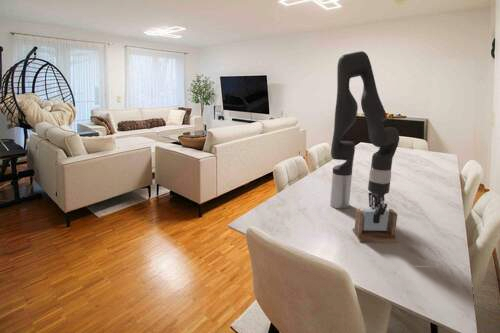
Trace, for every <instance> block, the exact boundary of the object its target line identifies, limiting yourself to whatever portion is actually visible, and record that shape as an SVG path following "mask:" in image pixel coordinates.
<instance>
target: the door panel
mask: <svg viewBox="0 0 500 333" xmlns="http://www.w3.org/2000/svg"><path fill="white" fill-rule="evenodd" d="M362 212H363V214H364V216H363V225H362V229H363V230H373V231H387V223H388V215H389V210H388V209H386V210H385V212H384V214H383V215H380V221H379V223H374V222H373V218H374V209H371V208H364V209H363V210H362Z"/></svg>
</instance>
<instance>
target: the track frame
mask: <svg viewBox="0 0 500 333" xmlns="http://www.w3.org/2000/svg"><path fill="white" fill-rule="evenodd" d="M355 211H356V212H355V223H354V227H353V228H351V229H352V230H351V231H352V232H353V233H354V235H355V236H356V238H357V240H358V242H359V243H381V244H382V243H385V244H386V243H388V244H390V243H391V244H397V243H398V240H397V239H396V228H397V220H398V215H399V214H398V213H397V212H395V211H394V209H392V208H389V209H388V212H389V215H388V223H387V231H373V230H363V229H362V225H363V216H364V214H363V210H362V209H361V208H356V209H355Z"/></svg>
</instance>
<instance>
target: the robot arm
mask: <svg viewBox="0 0 500 333" xmlns="http://www.w3.org/2000/svg"><path fill="white" fill-rule="evenodd" d="M336 67H337V70H336V72H337V74H336V75H337V78H336V80H337V81H336V82H337V83H336V84H337V89H336V90H337V91H336V102H335V108H334V109H335V110H334V111H335V112H334V125H333V126H334V127H333V135H332V141H331V147H330V148H331V149H330V156H331V159H333V160H337V161H344V162H343V163H341V164H338V165H337V164H336V165H334V166H333V168H332V175H331V176H332V178H331V188H330V189H331V191H330V204H329V205H330V206H331V207H333V208H335V209H339V210H343V209H345V210H346V209H348V208H349V207H350V201H351V200H350V199H351V187H352V178H353V168H354V167H353V166H354V159H355V152H356V144H355V142H354V141H351V140H349V141H348V140H341V139H342V138H343V136H344V135H345V133H347V131H349V129H350V128H352V126H353V125H354V124H355V122H356V120H357V116H358V109H359V108H358V107H359V106H358V102H357V100H356V99H355V97H354V95H353V93H352V92H351V89H350V80H351V79H352V78H358V77H360V78H361V80H362V82H363V90H362V95H361V100H360V105H361V110H362V112H363V115H364V117H365V119H366V124H367V131H368V132H367V133H368V138H369V140H370V142H371V144H372V145H373V146H375V147H377V148H378V150H377V151H375V152H374V153H373V154H372V156H371V157H372V158H371V166H370V171H369V178H368V185H367V190H368V207H369V208H370V209H374V218H373V222H374V223H379V221H380V215H383V214H384V212H385V210H387V207H388V203H385V195H386V194H389V193H390V189H391V188H390V187H391V180H392V164H393V158H394V155H395V154H396V151H397V148H398V146H399V142H400V132H399V131H398V129H397V128H395V127H393V126H387V127H386V126H385V125H384V121H386V120H387V118H388V117H387V113H386V111H385V107H384V106H383V102H382V101H381V98H380V96H379V93H378V89H377V85H376V81H375V75H374V72H373V67H372V64H371V61H370V57H369V55H368V54H367V53H366V52H365V51H355V52H351V53H346V54H343V55H341V56H340V57H339V59H338V62H337V66H336Z"/></svg>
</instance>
